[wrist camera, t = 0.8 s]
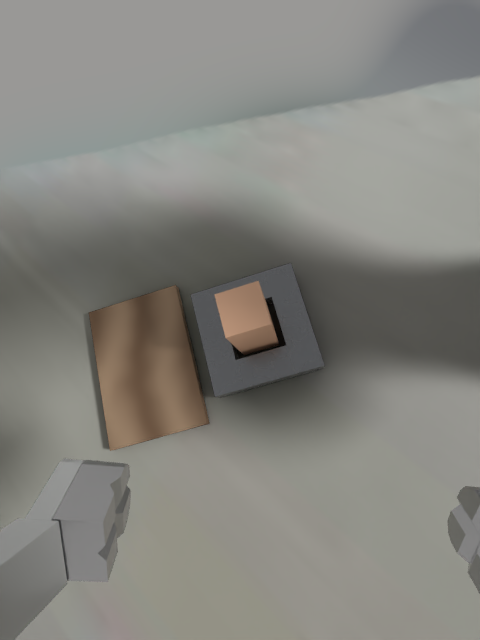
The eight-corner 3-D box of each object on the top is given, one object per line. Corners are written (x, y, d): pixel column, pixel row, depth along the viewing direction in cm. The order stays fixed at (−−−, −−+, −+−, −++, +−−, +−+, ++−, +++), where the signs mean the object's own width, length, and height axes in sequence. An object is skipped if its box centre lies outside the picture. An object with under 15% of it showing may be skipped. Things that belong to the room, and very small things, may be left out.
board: (178, 287, 44) (175, 284, 43) (209, 423, 39) (207, 423, 38) (93, 314, 45) (88, 312, 44) (114, 449, 40) (109, 450, 39)
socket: (291, 271, 42) (290, 263, 39) (323, 368, 39) (324, 365, 36) (197, 301, 43) (190, 294, 41) (220, 397, 40) (214, 396, 37)
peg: (269, 311, 41) (258, 280, 32) (279, 345, 40) (271, 324, 31) (235, 321, 42) (214, 294, 32) (244, 355, 40) (225, 337, 31)
